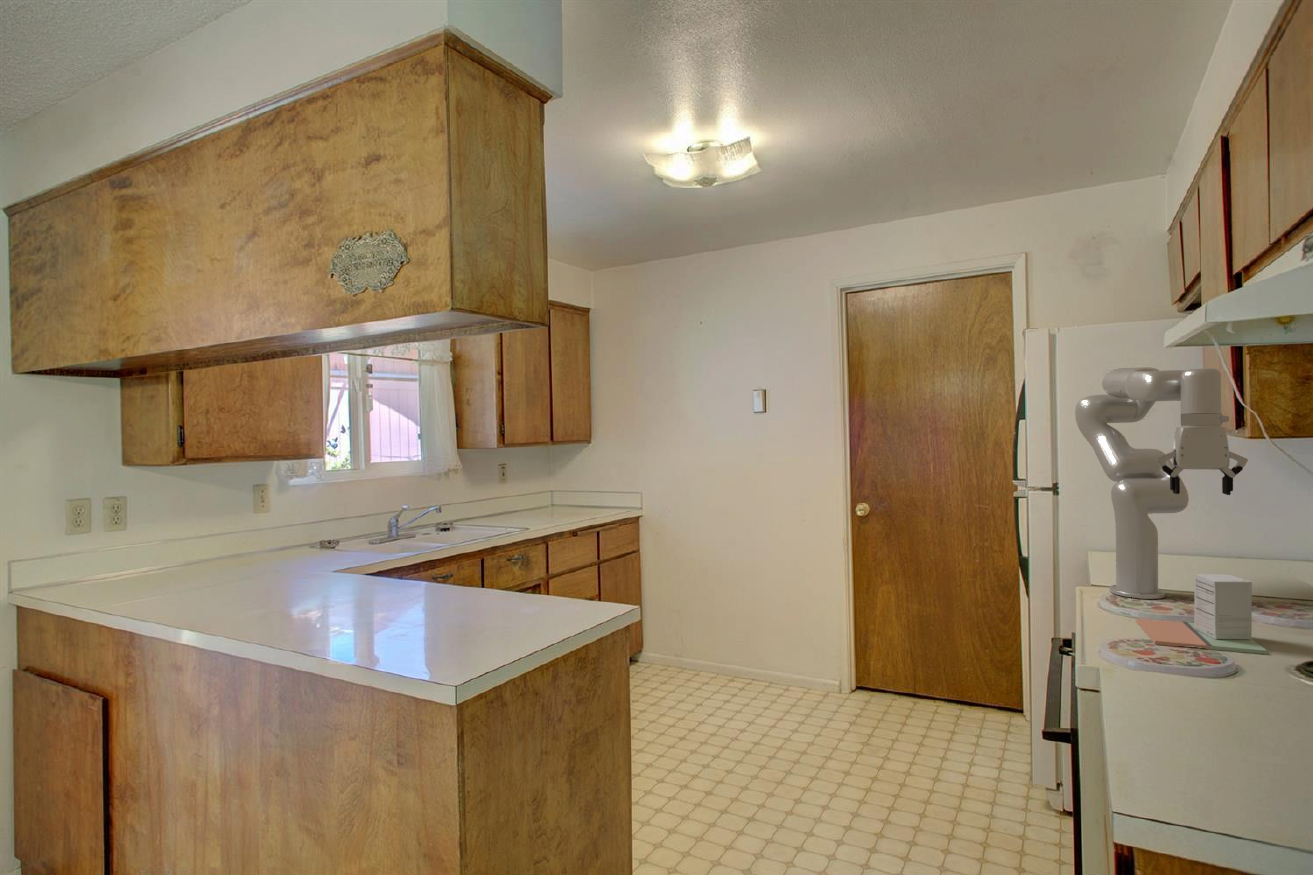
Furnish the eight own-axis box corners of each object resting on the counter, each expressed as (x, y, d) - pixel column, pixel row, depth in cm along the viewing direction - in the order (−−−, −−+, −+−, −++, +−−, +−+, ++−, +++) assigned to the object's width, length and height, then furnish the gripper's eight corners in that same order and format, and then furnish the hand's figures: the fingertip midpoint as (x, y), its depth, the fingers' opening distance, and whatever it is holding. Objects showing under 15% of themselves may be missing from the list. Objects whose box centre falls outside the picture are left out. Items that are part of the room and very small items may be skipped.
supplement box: (1228, 629, 156) (1229, 573, 155) (1252, 640, 148) (1253, 581, 148) (1192, 629, 157) (1193, 573, 156) (1214, 639, 149) (1215, 580, 149)
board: (1135, 621, 166) (1135, 617, 166) (1235, 629, 159) (1235, 625, 158) (1155, 644, 150) (1155, 640, 150) (1267, 654, 142) (1267, 650, 142)
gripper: (1240, 420, 164) (1241, 493, 164) (1152, 421, 171) (1152, 491, 171) (1253, 420, 157) (1253, 496, 157) (1160, 422, 164) (1160, 494, 164)
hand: (1200, 493), depth 164 cm, fingers open, 9 cm apart
